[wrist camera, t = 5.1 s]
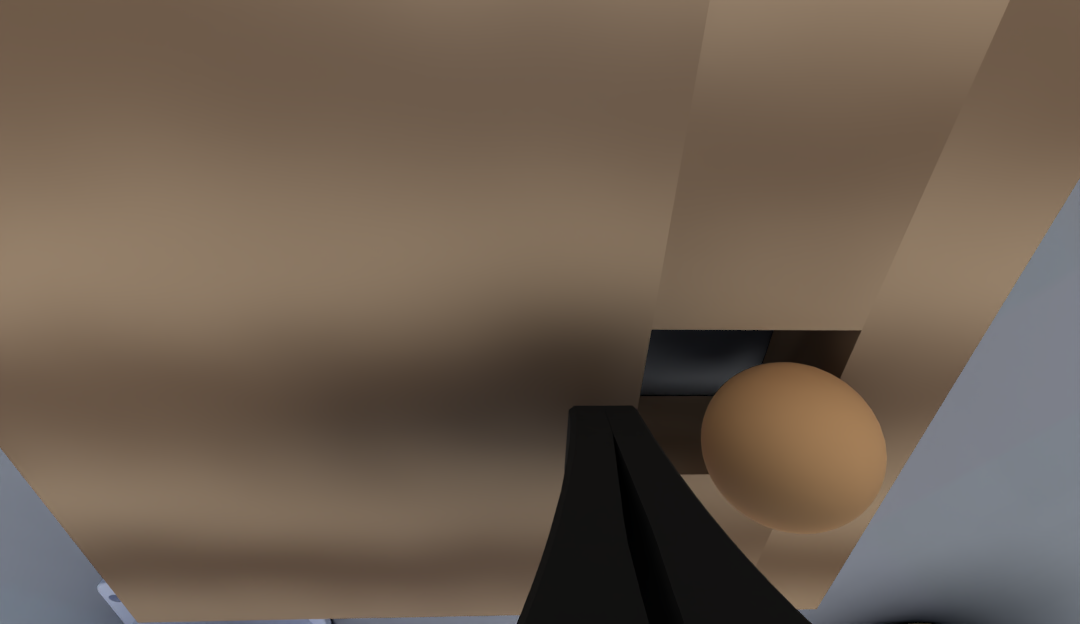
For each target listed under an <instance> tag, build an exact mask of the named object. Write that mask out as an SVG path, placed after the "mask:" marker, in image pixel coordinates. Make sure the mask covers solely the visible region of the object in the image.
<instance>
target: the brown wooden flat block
mask: <svg viewBox="0 0 1080 624" xmlns="http://www.w3.org/2000/svg"><path fill="white" fill-rule="evenodd" d="M1079 178H1080V0H0V448H1V449H2V450H3V452H4V453H5V454H6V456H7V457H8V458H9V459H10V461H11V462H12V463H13V464H14V466H15V467H16V468H17V470H18V471H19V472H20V473H21V475H22V476H23V477H24V479H25V480H26V481H27V482H28V484H29V485H30V486H31V487H32V489H33V490H34V491H35V493H36V494H37V495H38V496H39V498H40V499H41V500H42V501H43V503H44V504H45V505H46V507H47V508H48V509H49V510H50V512H51V513H52V514H53V515H54V517H55V518H56V519H57V521H58V522H59V523H60V524H61V526H62V527H63V528H64V529H65V531H66V532H67V533H68V535H69V536H70V537H71V538H72V540H73V541H74V542H75V543H76V545H77V546H78V547H79V549H80V550H81V551H82V552H83V554H84V555H85V556H86V557H87V559H88V560H89V561H90V563H91V564H92V565H93V566H94V568H95V569H96V570H97V571H98V573H99V574H100V575H101V577H102V578H103V579H104V580H105V582H106V583H107V584H108V586H109V587H110V588H111V589H112V591H113V592H114V593H115V594H116V596H117V597H118V598H119V600H120V601H121V602H122V603H123V605H124V606H125V607H126V608H127V610H128V611H129V612H130V614H131V615H132V616H133V617H134V619H135V620H136V621H137V622H138V623H148V622H198V621H247V620H297V619H347V618H396V617H446V616H495V615H520V614H521V612H522V609H523V607H524V604H525V602H526V599H527V596H528V594H529V591H530V589H531V586H532V583H533V581H534V578H535V575H536V572H537V569H538V566H539V564H540V561H541V558H542V555H543V552H544V549H545V545H546V542H547V539H548V536H549V533H550V529H551V526H552V522H553V518H554V515H555V511H556V507H557V504H558V500H559V496H560V492H561V488H562V483H563V478H564V466H565V453H566V439H567V426H568V412H569V409H571V408H572V407H573V406H624V405H633V406H634V407H635V408H636V409H637V410H638V412H639V414H640V415H641V417H642V419H643V420H644V422H645V423H646V425H647V427H648V428H649V430H650V431H651V433H652V434H653V436H654V438H655V439H656V441H657V442H658V444H659V445H660V447H661V448H662V450H663V451H664V452H665V454H666V455H667V457H668V458H669V460H670V461H671V463H672V464H673V465H674V467H675V468H676V470H677V471H678V472H679V474H680V475H681V476H682V478H683V479H684V481H685V482H686V483H687V485H688V486H689V487H690V489H691V490H692V491H693V493H694V494H695V495H696V497H697V498H698V499H699V500H700V502H701V503H702V504H703V506H704V507H705V508H706V509H707V511H708V512H709V513H710V514H711V516H712V517H713V518H714V519H715V520H716V522H717V523H718V524H719V525H720V527H721V528H722V529H723V530H724V531H725V533H726V534H727V535H728V536H729V537H730V538H731V540H732V541H733V542H734V543H735V544H736V545H737V547H738V548H739V549H740V550H741V551H742V552H743V553H744V554H745V556H746V557H747V558H748V559H749V560H750V561H751V562H752V563H753V564H754V565H755V567H756V568H757V569H758V570H759V571H760V572H761V573H762V574H763V575H764V576H765V577H766V578H767V579H768V580H769V582H770V583H771V584H772V585H773V586H774V587H775V588H776V589H777V590H778V591H779V592H780V593H781V594H782V595H783V596H784V597H785V598H786V599H787V600H788V601H789V602H790V603H791V604H792V605H793V606H794V607H795V608H796V609H817V607H818V606H819V604H820V603H821V601H822V599H823V598H824V596H825V594H826V593H827V591H828V589H829V588H830V586H831V585H832V583H833V581H834V580H835V578H836V576H837V575H838V573H839V571H840V570H841V568H842V567H843V565H844V563H845V562H846V560H847V558H848V557H849V555H850V553H851V552H852V550H853V549H854V547H855V545H856V544H857V542H858V540H859V539H860V537H861V535H862V534H863V532H864V531H865V529H866V527H867V526H868V524H869V522H870V521H871V519H872V517H873V516H874V514H875V513H876V511H877V509H878V508H879V506H880V504H881V503H882V501H883V499H884V498H885V496H886V494H887V493H888V491H889V490H890V488H891V486H892V485H893V483H894V481H895V480H896V478H897V476H898V475H899V473H900V472H901V470H902V468H903V467H904V465H905V463H906V462H907V460H908V458H909V457H910V455H911V454H912V452H913V450H914V449H915V447H916V445H917V444H918V442H919V440H920V439H921V437H922V436H923V434H924V432H925V431H926V429H927V427H928V426H929V424H930V422H931V421H932V419H933V418H934V416H935V414H936V413H937V411H938V409H939V408H940V406H941V404H942V403H943V401H944V400H945V398H946V396H947V395H948V393H949V391H950V390H951V388H952V386H953V385H954V383H955V382H956V380H957V378H958V377H959V375H960V373H961V372H962V370H963V368H964V367H965V365H966V363H967V362H968V360H969V359H970V357H971V355H972V354H973V352H974V350H975V349H976V347H977V345H978V344H979V342H980V341H981V339H982V337H983V336H984V334H985V332H986V331H987V329H988V327H989V326H990V324H991V323H992V321H993V319H994V318H995V316H996V314H997V313H998V311H999V309H1000V308H1001V306H1002V305H1003V303H1004V301H1005V300H1006V298H1007V296H1008V295H1009V293H1010V291H1011V290H1012V288H1013V287H1014V285H1015V283H1016V282H1017V280H1018V278H1019V277H1020V275H1021V273H1022V272H1023V270H1024V269H1025V267H1026V265H1027V264H1028V262H1029V260H1030V259H1031V257H1032V255H1033V254H1034V252H1035V251H1036V249H1037V247H1038V246H1039V244H1040V242H1041V241H1042V239H1043V237H1044V236H1045V234H1046V233H1047V231H1048V229H1049V228H1050V226H1051V224H1052V223H1053V221H1054V219H1055V218H1056V216H1057V214H1058V213H1059V211H1060V210H1061V208H1062V206H1063V205H1064V203H1065V201H1066V200H1067V198H1068V196H1069V195H1070V193H1071V192H1072V190H1073V188H1074V187H1075V185H1076V183H1077V182H1078V180H1079ZM651 330H774V331H773V334H772V337H771V340H770V343H769V346H768V349H767V352H766V355H765V358H764V361H763V364H766V363H774V362H792V363H800V364H805V365H809V366H813V367H816V368H818V369H821V370H823V371H826V372H828V373H830V374H832V375H834V376H836V377H837V378H839V379H841V380H842V381H844V382H845V383H847V384H848V385H849V386H850V387H852V388H853V389H854V390H855V391H856V392H857V393H858V394H859V395H860V396H861V397H862V398H863V399H864V400H865V402H866V403H867V404H868V405H869V407H870V408H871V409H872V411H873V413H874V415H875V416H876V418H877V420H878V422H879V424H880V426H881V430H882V433H883V436H884V439H885V444H886V453H887V465H886V473H885V477H884V481H883V483H882V486H881V489H880V491H879V493H878V495H877V496H876V498H875V499H874V501H873V502H872V503H871V505H870V506H869V507H868V508H867V510H865V511H864V512H863V513H862V514H861V515H860V516H859V517H857V518H856V519H854V520H853V521H851V522H850V523H848V524H846V525H844V526H841V527H839V528H837V529H834V530H830V531H827V532H822V533H816V534H796V533H787V532H782V531H778V530H775V529H772V528H769V527H766V526H764V525H761V524H759V523H757V522H755V521H754V520H752V519H750V518H748V517H747V516H745V515H744V514H742V513H741V512H740V511H738V510H737V509H736V508H735V507H734V506H733V505H731V504H730V503H729V502H728V501H727V499H726V498H725V497H724V496H723V495H722V494H721V492H720V491H719V490H718V488H717V487H716V485H715V484H714V482H713V480H712V479H711V477H710V475H709V473H708V470H707V468H706V465H705V462H704V458H703V454H702V448H701V428H702V422H703V418H704V415H705V412H706V409H707V407H708V405H709V403H710V401H711V399H712V398H713V396H640V392H641V386H642V381H643V375H644V369H645V364H646V358H647V352H648V347H649V341H650V336H651Z"/></svg>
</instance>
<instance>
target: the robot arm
mask: <svg viewBox="0 0 1080 624" xmlns="http://www.w3.org/2000/svg"><path fill="white" fill-rule="evenodd" d="M97 589H98V592H99V593H100V594H101V595H102V597H103V598H104V599H105V600H106V601H107V603H108V604H109V605H110V606H111V608H112V609H113V610H114V611H115V613H116V614H117V615H118V616H119V617H120V619H121V620H122V621H123V622H124V624H331V621H330V619H297V620H247V621H198V622H148V623H138V622H137V621H136V620H135V619H134V617H133V616H132V615H131V614H130V612H129V611H128V610H127V608H126V607H125V606H124V605H123V603H122V602H121V601H120V600H119V598H118V597H117V596H116V594H115V593H114V592H113V591H112V589H111V588H110V587H109V586H108V584H107V583H106V582H105V580H104V579H102V580H101V582H100V583H99V584H98V586H97ZM517 624H812V623H811V622H809V621H808V620H807V619H806V618H805V617H804V616H803V615H802V614H801V613H800V612H799V611H798V610H797V609H796V608H795V607H794V606H793V605H792V604H791V603H790V602H789V601H788V600H787V599H786V598H785V597H784V596H783V595H782V594H781V593H780V592H779V591H778V590H777V589H776V588H775V587H774V586H773V585H772V584H771V583H770V582H769V580H768V579H767V578H766V577H765V576H764V575H763V574H762V573H761V572H760V571H759V570H758V569H757V568H756V567H755V565H754V564H753V563H752V562H751V561H750V560H749V559H748V558H747V557H746V556H745V554H744V553H743V552H742V551H741V550H740V549H739V548H738V547H737V545H736V544H735V543H734V542H733V541H732V540H731V538H730V537H729V536H728V535H727V534H726V533H725V531H724V530H723V529H722V528H721V527H720V525H719V524H718V523H717V522H716V520H715V519H714V518H713V517H712V516H711V514H710V513H709V512H708V511H707V509H706V508H705V507H704V506H703V504H702V503H701V502H700V500H699V499H698V498H697V497H696V495H695V494H694V493H693V491H692V490H691V489H690V487H689V486H688V485H687V483H686V482H685V481H684V479H683V478H682V476H681V475H680V474H679V472H678V471H677V470H676V468H675V467H674V465H673V464H672V463H671V461H670V460H669V458H668V457H667V455H666V454H665V452H664V451H663V450H662V448H661V447H660V445H659V444H658V442H657V441H656V439H655V438H654V436H653V434H652V433H651V431H650V430H649V428H648V427H647V425H646V423H645V422H644V420H643V419H642V417H641V415H640V414H639V412H638V410H637V409H636V408H635V407H634V406H633V405H624V406H573V407H572V408H571V409H569V412H568V426H567V439H566V453H565V466H564V478H563V483H562V488H561V492H560V496H559V500H558V504H557V507H556V511H555V515H554V518H553V522H552V526H551V529H550V533H549V536H548V539H547V542H546V545H545V549H544V552H543V555H542V558H541V561H540V564H539V566H538V569H537V572H536V575H535V578H534V581H533V583H532V586H531V589H530V591H529V594H528V596H527V599H526V602H525V604H524V607H523V609H522V612H521V614H520V617H519V620H518V622H517Z"/></svg>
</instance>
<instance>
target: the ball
mask: <svg viewBox="0 0 1080 624" xmlns="http://www.w3.org/2000/svg"><path fill="white" fill-rule="evenodd" d="M701 448H702V454H703V458H704V462H705V465H706V468H707V470H708V473H709V475H710V477H711V479H712V480H713V482H714V484H715V485H716V487H717V488H718V490H719V491H720V492H721V494H722V495H723V496H724V497H725V498H726V499H727V501H728V502H729V503H730V504H731V505H733V506H734V507H735V508H736V509H737V510H738V511H740V512H741V513H742V514H744V515H745V516H747V517H748V518H750V519H752V520H754V521H755V522H757V523H759V524H761V525H764V526H766V527H769V528H772V529H775V530H778V531H782V532H787V533H796V534H816V533H822V532H827V531H830V530H834V529H837V528H839V527H841V526H844V525H846V524H848V523H850V522H851V521H853V520H854V519H856V518H857V517H859V516H860V515H861V514H862V513H863V512H864V511H865V510H867V508H868V507H869V506H870V505H871V503H872V502H873V501H874V499H875V498H876V496H877V495H878V493H879V491H880V489H881V486H882V483H883V481H884V477H885V473H886V465H887V453H886V444H885V439H884V436H883V433H882V430H881V426H880V424H879V422H878V420H877V418H876V416H875V415H874V413H873V411H872V409H871V408H870V407H869V405H868V404H867V403H866V402H865V400H864V399H863V398H862V397H861V396H860V395H859V394H858V393H857V392H856V391H855V390H854V389H853V388H852V387H850V386H849V385H848V384H847V383H845V382H844V381H842V380H841V379H839V378H837V377H836V376H834V375H832V374H830V373H828V372H826V371H823V370H821V369H818V368H816V367H813V366H809V365H805V364H800V363H792V362H774V363H766V364H761V365H757V366H754V367H751V368H749V369H746V370H744V371H742V372H740V373H738V374H736V375H735V376H733V377H732V378H731V379H729V380H728V381H727V382H726V383H724V384H723V385H722V386H721V388H720V389H719V390H718V391H717V392H716V394H715V395H714V396H713V398H712V399H711V401H710V403H709V405H708V407H707V409H706V412H705V415H704V418H703V422H702V428H701Z"/></svg>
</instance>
